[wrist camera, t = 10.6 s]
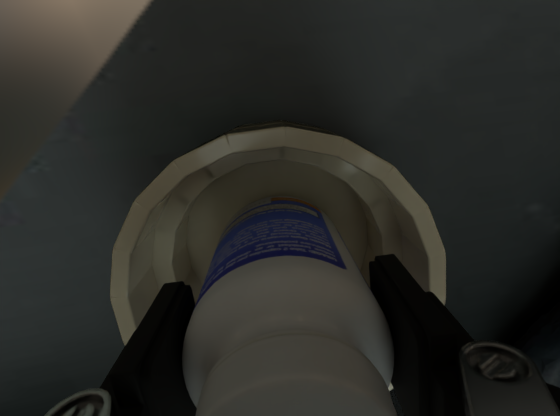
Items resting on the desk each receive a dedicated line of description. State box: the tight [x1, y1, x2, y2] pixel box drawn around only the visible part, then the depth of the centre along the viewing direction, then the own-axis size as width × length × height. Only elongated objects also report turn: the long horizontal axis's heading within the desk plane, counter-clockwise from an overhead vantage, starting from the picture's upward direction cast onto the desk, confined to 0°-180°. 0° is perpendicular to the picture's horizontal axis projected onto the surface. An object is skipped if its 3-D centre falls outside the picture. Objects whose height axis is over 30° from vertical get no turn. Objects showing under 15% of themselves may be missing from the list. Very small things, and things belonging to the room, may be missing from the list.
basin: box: [110, 120, 446, 391], centre depth 15 cm, size 11×11×6 cm
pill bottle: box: [182, 196, 397, 416], centre depth 11 cm, size 5×5×10 cm
